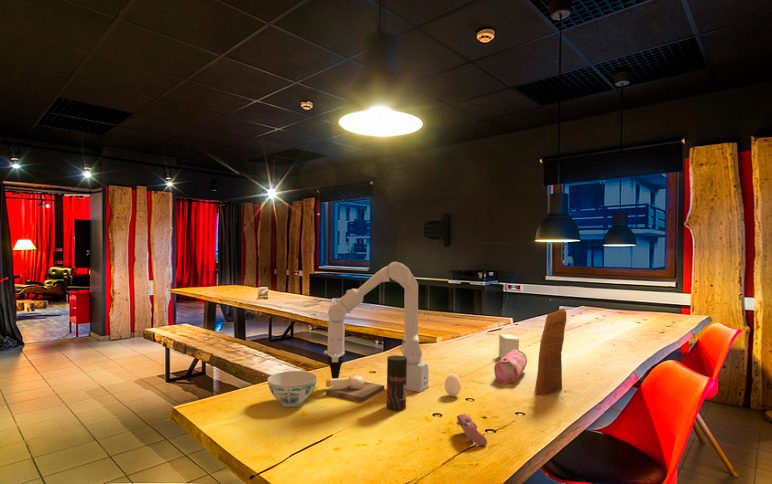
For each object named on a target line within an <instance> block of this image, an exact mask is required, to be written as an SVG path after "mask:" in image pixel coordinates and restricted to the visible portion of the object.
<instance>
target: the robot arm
mask: <svg viewBox="0 0 772 484" xmlns="http://www.w3.org/2000/svg"><path fill="white" fill-rule="evenodd" d="M390 280H393V281H395V283H398V284H399V285H400V286H401V287H402V288H403V289H404V308H403V309H404V310H403V311H404V315H403V316H404V317H403V319H404V320H403V321H404V322H403V323H404V324H403V325H404V326H403V328H404V329H403V330H404V331H403V332H404V333H403V340H402V343H401V346H400V351H401V354H402V356H404V357H406V358H407V377H406V391H412V392H416V393H417V392H418V393H421V392H423V391H424V390H425V389H427V388H428V387H430V385H429V371H430V370H429V366H428V364H427V363H425V362H422V356H423V353H422V349H421V347H420V340H419V283H418V281H417V280H416V278H415V276H414V275H413V273H412V272H411V269H410V268H409V267H407V266H406V265H405V264H404V263H402V262H398V261H392V262H391V263H389V264H388V265H387V266H384V267H383V268H381V269H380V270H378V271H377V272H375V274H373V275H372V276H371V277H370V278H369V279H368V280H366V281H365V282H364V283H363V284H362V285H361V286H359V288H351V289H348V290H346V291H345V292H346V293H345V294H344V295H343V296H341V297H340V298H339V299H338V298H337V299H336V300H335V303H332V304H331V305H330V307H329V308H328V311H327V315H328V325H327V350H324V352H323V354H324V355H328V356H327V359H326V361H327V363H328V365H329V369H330V375H331V379H338V378H340V373H341V367H342V364H343V362H344V360H345V356H344V355H345V354H346V353H345V352H346V351H345V331H346V330H345V329H346V328H345V317H346V314H349V313H350V312H352V311H353V310H354V309H355V308H357V307H358V306H359V305H360V304H362V303H363V302H364V297H365V295H367V294H368V293H369V292H371V291H372V290H374V289H375V288H376V287H377V286H378V285H379V284H381V283H385V282H390Z"/></svg>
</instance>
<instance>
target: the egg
mask: <svg viewBox="0 0 772 484" xmlns="http://www.w3.org/2000/svg"><path fill="white" fill-rule="evenodd" d="M444 389H445V392H446V393H447V394H448V396H450V397H456V396H458V395H459V394H460V391H461V389H462V383H461V380H460V378H459V376H458V375H457V374H455V373H449V374H448V376H447V377H446V379H445V381H444Z"/></svg>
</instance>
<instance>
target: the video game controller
mask: <svg viewBox="0 0 772 484" xmlns="http://www.w3.org/2000/svg"><path fill="white" fill-rule="evenodd" d="M456 419H457V421H456V425H457V426H460V427H461V428H462V431H463V432H464V434H465V436H466V437H465V439H466V440H468V441H469V442H473V443H474V444H476V445H477V446H481V447H485V446H487V444H488V440H487V438H486V437H485V436H484V434H482V433H481V432H480V431H479V430H478V426H477V424H476V423H475V422H474V421H473V419H472V418H471V416H469V415H468V414H465V413H460V414H458V415H456Z"/></svg>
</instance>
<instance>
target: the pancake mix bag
mask: <svg viewBox="0 0 772 484" xmlns="http://www.w3.org/2000/svg"><path fill="white" fill-rule="evenodd" d="M546 315H547V316H546V317H545V323H544V327H543V331H542V334H541V339H540V344H539V352H538V359H537V361H538V363H537V374H536V380H535V386H534V393H535V395H539V396H548V395H550V394H552V393H556V391H560V390H562V389H563V372H562V371H563V365H562V364H563V363H562V351H563V345H564V340H565V331H566V329H565V328H566V324H567V311H566V310H565V308H560V309H557V310H555V311H554V312H549V313H547V314H546Z"/></svg>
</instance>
